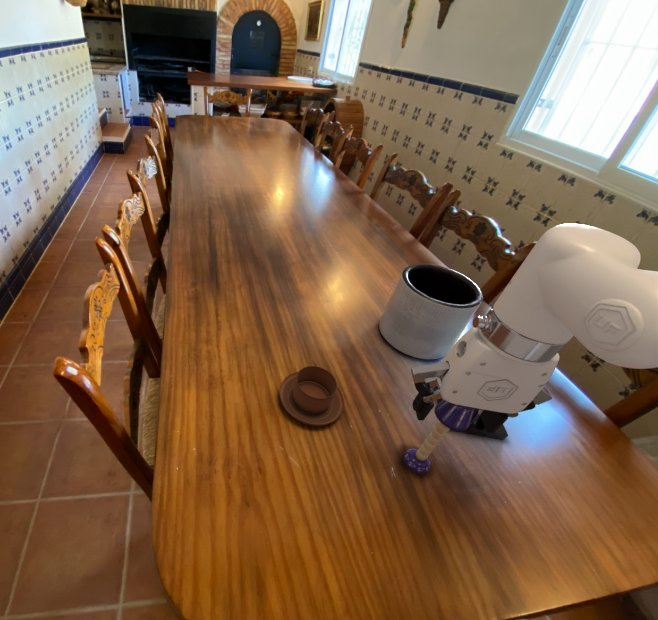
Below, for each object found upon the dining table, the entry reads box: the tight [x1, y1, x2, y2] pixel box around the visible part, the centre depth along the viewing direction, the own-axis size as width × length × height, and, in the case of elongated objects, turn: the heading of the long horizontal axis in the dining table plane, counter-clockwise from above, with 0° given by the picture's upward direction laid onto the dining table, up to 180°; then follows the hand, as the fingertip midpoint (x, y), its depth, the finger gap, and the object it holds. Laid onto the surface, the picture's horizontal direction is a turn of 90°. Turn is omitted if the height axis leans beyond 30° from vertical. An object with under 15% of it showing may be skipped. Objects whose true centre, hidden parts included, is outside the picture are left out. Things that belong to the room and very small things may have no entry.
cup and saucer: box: [279, 362, 345, 427], centre depth 66 cm, size 12×12×6 cm
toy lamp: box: [402, 400, 475, 475], centre depth 55 cm, size 5×5×17 cm
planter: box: [378, 263, 484, 360], centre depth 79 cm, size 16×16×16 cm
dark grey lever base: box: [432, 385, 509, 441], centre depth 66 cm, size 10×10×7 cm
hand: (451, 418), depth 52 cm, fingers open, 9 cm apart
